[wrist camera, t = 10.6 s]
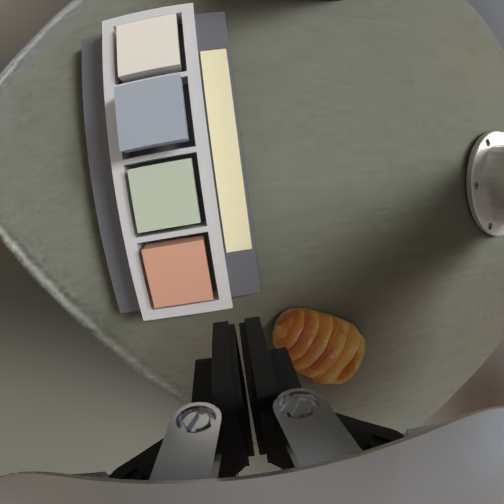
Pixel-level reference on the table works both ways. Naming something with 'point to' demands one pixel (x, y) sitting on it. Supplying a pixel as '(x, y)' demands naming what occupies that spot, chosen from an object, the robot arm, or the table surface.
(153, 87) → the slate key
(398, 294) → the table surface
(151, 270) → the terracotta key
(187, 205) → the sage key
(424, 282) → the table surface
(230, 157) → the keypad
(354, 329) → the pastry
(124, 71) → the ivory key
